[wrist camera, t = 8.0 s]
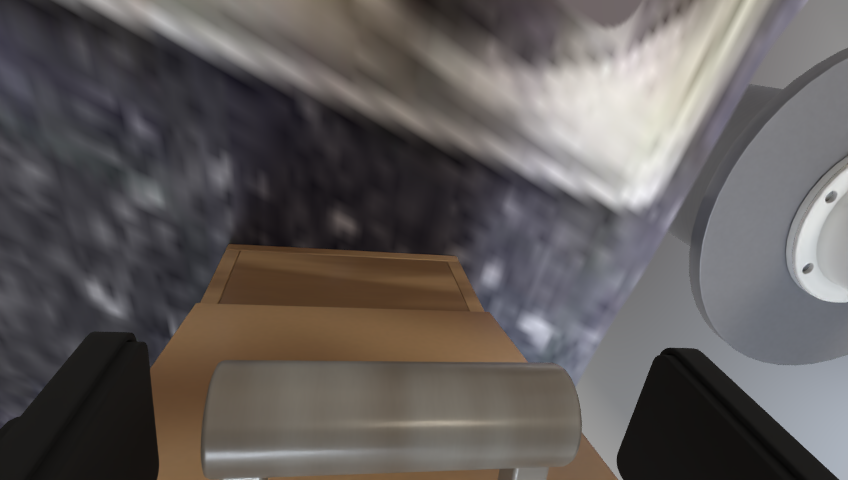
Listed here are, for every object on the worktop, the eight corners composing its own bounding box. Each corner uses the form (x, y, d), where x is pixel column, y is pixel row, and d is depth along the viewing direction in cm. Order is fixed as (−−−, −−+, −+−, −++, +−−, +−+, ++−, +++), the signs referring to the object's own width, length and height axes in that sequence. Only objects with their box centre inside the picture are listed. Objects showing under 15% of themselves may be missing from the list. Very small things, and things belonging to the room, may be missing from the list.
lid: (761, 710, 9) (860, 442, 8) (-151, 856, 6) (-252, 478, 5) (487, 326, 24) (503, 216, 23) (195, 319, 22) (194, 194, 20)
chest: (423, 442, 37) (441, 526, 31) (232, 446, 34) (210, 540, 28) (456, 255, 31) (486, 314, 25) (228, 243, 28) (198, 305, 22)
